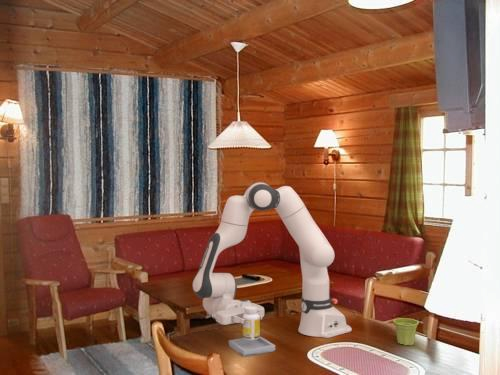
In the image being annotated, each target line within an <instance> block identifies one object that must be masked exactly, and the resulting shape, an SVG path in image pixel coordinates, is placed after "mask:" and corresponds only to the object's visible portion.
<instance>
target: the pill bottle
mask: <svg viewBox="0 0 500 375" xmlns="http://www.w3.org/2000/svg"><path fill="white" fill-rule="evenodd" d="M245 312H246V313H245V314H244V315H243V318H245V319H246V323H243V324H242V338H244V339H246V340H257V339H259V337H260V336H261V334H260V333H261V332H260V331H261V330H260V328H261V327H260V326H261V324H260V323H261V320H260V316H259V314H257V307H255V306H247V307H245Z"/></svg>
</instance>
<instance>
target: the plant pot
mask: <svg viewBox="0 0 500 375" xmlns="http://www.w3.org/2000/svg"><path fill="white" fill-rule="evenodd" d="M393 323H394V326H395V331H396V340H397V344H399V343H400V344H404V345H403V346H413V345H414V344H415V340H416V333H417V328H418V325H419V321H418V320H416V319H414V318H413V319H412V318H406V317H402V318H401V317H398V318H395V319H393ZM400 344H399V345H400Z"/></svg>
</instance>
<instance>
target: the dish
mask: <svg viewBox="0 0 500 375" xmlns="http://www.w3.org/2000/svg"><path fill="white" fill-rule="evenodd" d="M228 347H230V348H231V349H232V350H233V351H235V352H236V353H238V354H239V355H241V356H242V357H244V358H246V357H252V356H256V355H257V356H258V355H262V354H268V353H272V352H276V345H275V344H274V343H272V342H270V341H269V340H268V339H266V338H263V337H262V336H261V335H260V337H259V339H257V340H246V339H244V338H243V337H241V338H235V339H229V340H228Z"/></svg>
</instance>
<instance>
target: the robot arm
mask: <svg viewBox="0 0 500 375" xmlns="http://www.w3.org/2000/svg"><path fill="white" fill-rule="evenodd" d="M273 209H274V210H275V211H276V212H277V214H278V216H279V217H280V219H281V220H282V222H283V224H284V226H285V227H286V229H287V231H288V233H289V234H290V236H291V237H292V238H293V240H294V241H295V243H296V244H297V246H298V250H299V259H300V270H301V276H302V287H301V288H302V291H301V293H302V295H301V302H300V306H301V308H300V309H301V316H300V322H299V326H298V329H297V330H298V332H299V333H300V334H301V335H306V336H310V337H319V338H320V337H321V338H326V339H328V338H333V337H337V336H339V335H343V334H347V333H350V332H352V331H353V330H352V327H351V326H350V325H349V324H347V320H346V317H345V315H344V314H343V313H342V312H341V311H339V309H337V308H336V307H335V306H334V305H336V304H338V302H339V301H338V299H337V298H332V297H330V276H329V273H328V272H329V271H328V267H330V265H331V264H332V263H333V262H334V260H335V251H334V248H333V247H332V245H331V244H330V242H329V241H328V239H327V238H326V236H325V234H324V233H323V232H322V230H321V229H320V227H319V226H318V224H317V223H316V222H315V220H314V219H313V217H312V215H311V213H310V212H309V210H308V209H307V207H306V205H305V203H304V202H303V199H301V198H300V195H299V194H298V193H297V192H296V191H295V190H294V189H293V187H291V186H288V185H284V186H280V187H279V188H273V187H272V186H270V185H269V184H267V183H266V182H262V181H261V182H260V181H257V182H253V183H251V184H250V185H249V186H248V187H247V188H246V189H245V190H244V192H243V193H242V194H241V195H237V194H236V195H232V196H229V197H228V198H227V200H226V203H225V204H224V208H223V211H222V213H221V219H220V223H219V226H218V228H217V229H216V231H215V233H213V234H212V235H211V236H210V237H209V239H208V242H207V245H206V247H205V250H204V253H203V255H202V259H201V262H200V264H199V267H198V270H197V272H196V274H195V276H194V277H193V280H192V283H191V284H192V287H191V288H192V291H193V293H194V294H195V295H196V296H197V297H198V298H199V299H202V306H203V308H204V310H205V311H206V312H207V313H208V314H210V315H211V318H212V319H214V320H215V321H216V322H217V323H218V324H220V325H222V326H226V325H232V324H235V323H236V324H237V323H238V324H242V325H243V323H246V319H245V318H243V315H244V314H245V313H246V312H245V307H247V306H255V307H257V314H259V316H260V321H261V320H262V321H263V317H265V308H264V306H262V305H260V304H257V303H254V302H251V301H250V300H249V299H241V300H240V299H235V296H236V294H237V291H238V290H237V289H238V283H237V280H236V278H235V276H234V275H233V274H231V273H229V272H213V270H214V268H215V265H216V262H217V259H218V257H219V255H220V254H221V252H223V251H224V250H225V249H227V248H231V247H233V246H236V245H238V244H239V243H241V242H242V241H243V240H244V239H245V237H246V235H247V231H248V225H249V219H250V216H251V215H252V213H253V211H255V210H256V211H259V212H264V211H269V210H273ZM333 304H334V305H333Z"/></svg>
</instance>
